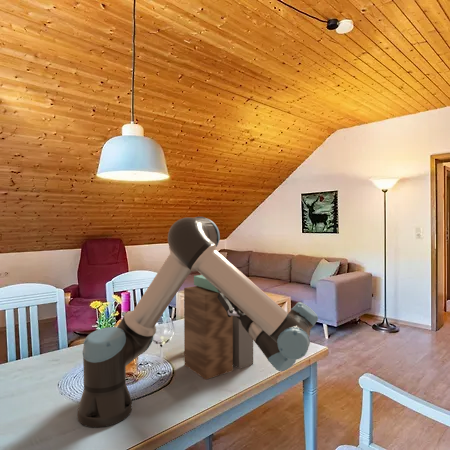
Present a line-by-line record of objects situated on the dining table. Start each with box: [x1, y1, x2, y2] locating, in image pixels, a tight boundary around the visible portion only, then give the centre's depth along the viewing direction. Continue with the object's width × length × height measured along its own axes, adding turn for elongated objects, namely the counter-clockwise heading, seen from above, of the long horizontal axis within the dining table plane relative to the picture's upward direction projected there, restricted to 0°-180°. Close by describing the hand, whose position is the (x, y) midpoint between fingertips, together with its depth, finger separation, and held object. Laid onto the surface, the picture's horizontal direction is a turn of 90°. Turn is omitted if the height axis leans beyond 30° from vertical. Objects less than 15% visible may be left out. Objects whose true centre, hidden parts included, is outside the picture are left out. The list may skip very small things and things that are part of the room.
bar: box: [193, 274, 219, 293], centre depth 129 cm, size 4×24×4 cm, turn 36°
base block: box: [233, 316, 254, 369], centre depth 140 cm, size 7×12×20 cm, turn 36°
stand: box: [183, 285, 234, 380], centre depth 133 cm, size 12×15×30 cm
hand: (220, 278), depth 127 cm, fingers closed on bar, 3 cm apart
